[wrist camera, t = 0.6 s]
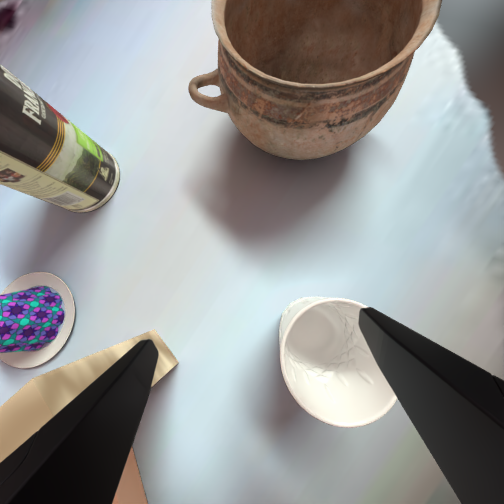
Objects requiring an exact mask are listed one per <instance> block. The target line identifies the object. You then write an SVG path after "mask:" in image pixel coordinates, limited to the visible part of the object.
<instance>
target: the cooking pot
mask: <svg viewBox="0 0 504 504" xmlns="http://www.w3.org/2000/svg"><path fill="white" fill-rule="evenodd" d="M441 3H442V0H212V20H213V24H214V29H215V32H216V34H217V36H218V38H219V41H218V69H216V70H215V71H213V72H211V73H208V74H204V75H200V76H197V77H195V78H193V79H192V80H191V81H190V83H189V93H190V96H191V98H192V99H193V100H194V101H195V102H196V103H198V104H199V105H202V106H204V107H207V108H210V109H214V110H218V111H221V112H225V113H228V114H229V116H230V118H231V120H232V121H233V123H234V124H235V125H236V127H237V128H238V130H239V131H240V132H241V133H242V134H243V135H244V136H245V137H246V138H247V139H248V140H249V141H250V142H251V143H252V144H254V145H255V146H257V147H258V148H260V149H262V150H263V151H265V152H267V153H270V154H272V155H275V156H278V157H282V158H287V159H296V160H306V159H316V158H320V157H324V156H328V155H331V154H334V153H336V152H338V151H341V150H343V149H345V148H347V147H348V146H350V145H352V144H353V143H355V142H356V141H358V140H359V139H361V138H362V137H364V136H365V135H366V134H367V133H368V132H369V131H370V130H372V129H373V128H374V127H375V126H376V125H377V124H378V123H379V122H380V121H381V119H382V118H383V117H384V115H385V114H386V113H387V111H388V110H389V109H390V107H391V106H392V105H393V103H394V101H395V100H396V98H397V96H398V94H399V91H400V89H401V87H402V85H403V83H404V81H405V78H406V76H407V73H408V70H409V68H410V65H411V62H412V59H413V56H414V52H415V50H417V49H418V48H419V47H420V45H421V44H422V43H423V41H424V40H425V39H426V38H427V36H428V35H429V34H430V32H431V31H432V29H433V27H434V24H435V22H436V20H437V18H438V16H439V11H440V7H441ZM207 85H216V86H218V87H220V91H221V95H220V96H218V97H208V96H205V95H203V94H201V93H199V92H198V90H197V89H198V88H200V87H203V86H207Z"/></svg>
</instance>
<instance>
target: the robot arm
mask: <svg viewBox="0 0 504 504" xmlns="http://www.w3.org/2000/svg"><path fill="white" fill-rule="evenodd" d="M358 324H359V328H360V330H361V332H362V334H363V336H364V338H365V341H366V343H367V345H368V347H369V349H370V351H371V353H372V355H373V357H374V359H375V361H376V363H377V365H378V367H379V369H380V370H381V372H382V374H383V375H384V377H385V379H386V380H387V382H388V384H389V385H390V387H391V388H392V390H393V392H394V393H395V395H396V397H397V398H398V400H399V402H400V403H401V405H402V407H403V408H404V410H405V411H406V413H407V415H408V416H409V418H410V420H411V421H412V423H413V425H414V426H415V428H416V430H417V431H418V433H419V434H420V436H421V438H422V439H423V441H424V443H425V444H426V446H427V448H428V449H429V451H430V453H431V454H432V456H433V458H434V459H435V461H436V462H437V464H438V466H439V467H440V469H441V471H442V472H443V474H444V476H445V477H446V479H447V481H448V482H449V484H450V485H451V487H452V489H453V490H454V492H455V494H456V495H457V497H458V499H459V500H460V502H461V504H504V380H502V379H500V378H498V377H496V376H494V375H491V374H490V373H489V372H487V371H485V370H484V369H482V368H480V367H478V366H476V365H475V364H473V363H471V362H469V361H467V360H466V359H464V358H462V357H460V356H458V355H457V354H455V353H453V352H451V351H449V350H448V349H446V348H444V347H442V346H440V345H439V344H437V343H435V342H433V341H431V340H430V339H428V338H426V337H424V336H422V335H421V334H419V333H417V332H415V331H413V330H412V329H410V328H408V327H406V326H404V325H403V324H401V323H399V322H397V321H395V320H394V319H392V318H390V317H388V316H386V315H385V314H383V313H381V312H379V311H377V310H376V309H374V308H371V307H366V308H361V309H360V311H359V321H358ZM158 356H159V352H158V349H157V348H156V346H155V344H154V342H153V341H152V340H151V339H144V340H141V341H139V342H138V343H137V344H136V345H135V346H133V347H132V348H131V349H130V350H129V351H128V352H127V353H125V354H124V355H123V356H122V357H121V358H120V359H119V360H117V361H116V362H115V363H114V364H113V365H112V366H111V367H109V368H108V369H107V370H106V371H105V372H104V373H103V374H101V375H100V376H99V377H98V378H97V379H96V380H95V381H93V382H92V383H91V384H90V385H89V386H88V387H87V388H85V389H84V390H83V391H82V392H81V393H80V394H79V395H78V396H76V397H75V398H74V399H73V400H72V401H71V402H70V403H68V404H67V405H66V406H65V407H64V408H63V409H62V410H60V411H59V412H58V413H57V414H56V415H55V416H54V417H52V418H51V419H50V420H49V421H48V422H47V423H46V424H44V425H43V426H42V427H41V428H40V429H39V431H36V432H35V433H34V434H33V435H32V436H31V437H30V438H28V439H27V440H26V441H25V442H24V443H23V444H22V445H20V446H19V447H18V448H17V449H16V450H15V451H13V452H12V453H11V454H10V455H9V456H8V457H6V458H5V459H4V460H3V461H2V462H1V463H0V504H112V503H113V500H114V497H115V494H116V491H117V488H118V485H119V482H120V479H121V476H122V473H123V470H124V468H125V465H126V462H127V459H128V456H129V453H130V450H131V447H132V444H133V441H134V438H135V435H136V432H137V429H138V426H139V423H140V420H141V417H142V415H143V412H144V409H145V406H146V403H147V400H148V396H149V393H150V389H151V385H152V381H153V377H154V373H155V369H156V365H157V361H158Z"/></svg>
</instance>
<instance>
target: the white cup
mask: <svg viewBox="0 0 504 504" xmlns="http://www.w3.org/2000/svg"><path fill="white" fill-rule="evenodd" d="M366 307H367V306H365V305H363V304H361V303H358V302H356V301H353V300H349V299H343V298H329V297H306V298H299V299H297V300H295V301H293V302H291V303H290V304H289V305H288V306H287V307H286V309H285V310H284V311H283V313H282V316H281V321H280V326H279V346H280V363H281V370H282V374H283V377H284V380H285V383H286V385H287V387H288V389H289V391H290V393H291V394H292V396H293V397H294V399H295V400H296V401H297V403H298V404H299V405H300V406H301V407H302V408H303V409H304V410H305V411H306V412H308V413H309V414H310V415H312V416H313V417H315V418H316V419H318V420H320V421H322V422H324V423H327V424H329V425H333V426H337V427H345V428H352V427H360V426H364V425H367V424H370V423H372V422H374V421H376V420H378V419H379V418H381V417H382V416H383V415H385V414H386V413H387V412H388V411H389V410H390V409H391V407H392V406H393V405H394V403H395V402H396V400H397V397H396V395H395V393H394V392H393V390H392V388H391V387H390V385H389V384H388V382H387V380H386V379H385V377H384V375H383V374H382V372H381V370H380V369H379V367H378V365H377V363H376V361H375V359H374V357H373V355H372V353H371V351H370V349H369V347H368V345H367V343H366V341H365V338H364V336H363V334H362V332H361V330H360V328H359V324H358V321H359V311H360V309H361V308H366Z"/></svg>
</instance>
